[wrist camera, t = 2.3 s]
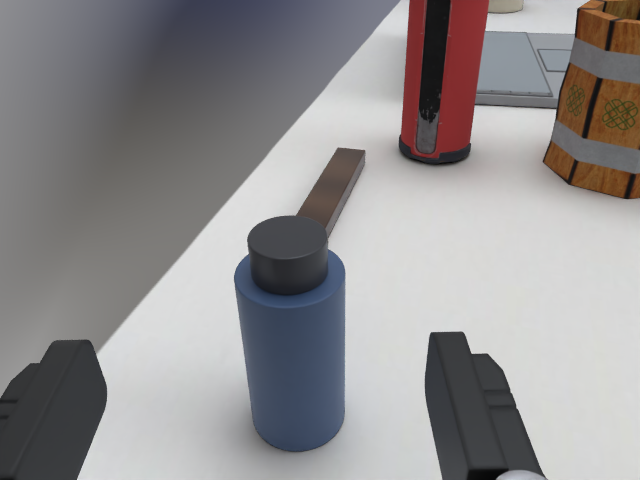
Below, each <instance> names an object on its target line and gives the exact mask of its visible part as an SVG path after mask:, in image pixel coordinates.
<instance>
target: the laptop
mask: <svg viewBox="0 0 640 480" xmlns="http://www.w3.org/2000/svg"><path fill="white" fill-rule="evenodd" d="M574 38H575V34H552V33H526V32H496V31H485V34H484V41H483V48H482V56H481V63H480V70H479V77H478V84H477V92H476V99H475V104H486V105H507V106H527V107H547V108H557V104H558V97H559V91H560V88H561V85H562V81H563V78H564V75H565V72H566V69H567V66H568V63H569V59H570V55H571V51H572V46H573V42H574Z"/></svg>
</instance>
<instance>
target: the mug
mask: <svg viewBox="0 0 640 480" xmlns="http://www.w3.org/2000/svg"><path fill="white" fill-rule="evenodd" d="M543 162H544V163H545V164H546V165H547V166H548V167H550V168H551V169H552V170H553V171H554V172H555V173H557V174H558V175H559V176H560V177H561V178H562V179H563V180H565V181H566V182H567V183H568V184H570V185H574V186H578V187H582V188H586V189H590V190H594V191H598V192H602V193H606V194H610V195H614V196H617V197H621V198H625V199H631V198H640V0H590V1H589V2H587V3H586V4H584V5H582V6H581V7H579V8H578V9H577V19H576V29H575V38H574V42H573V46H572V51H571V55H570V59H569V63H568V66H567V69H566V72H565V75H564V78H563V81H562V85H561V88H560V91H559V97H558V104H557V112H556V119H555V123H554V128H553V132H552V136H551V140H550V143H549V146H548V149H547V151H546V154H545V157H544V159H543Z"/></svg>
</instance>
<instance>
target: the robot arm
mask: <svg viewBox="0 0 640 480" xmlns="http://www.w3.org/2000/svg"><path fill="white" fill-rule="evenodd" d="M425 396H426V403H427V408H428V413H429V418H430V422H431V427H432V432H433V436H434V441H435V446H436V451H437V455H438V460H439V465H440V469H441V474H442V479H443V480H548V479H546V477H545V476H544V474H543V472H542V470H541V468H540V466H539V463H538V460H537V458H536V455H535V453H534V450H533V447H532V445H531V442H530V439H529V437H528V434H527V432H526V429H525V426H524V424H523V421H522V419H521V416H520V413H519V411H518V409H517V408H516V403H515V400H514V398H513V395H512V393H511V392H510V387H509V385H508V382H507V379H506V377H505V374H504V372H503V370H502V369H501V368H500V366H499V365H498V364H497V363H496V362H495V361H494V360H493V359H492V358H491V357H490V356H489V355H488V354H471V351H470V348H469V345H468V342H467V339H466V336H465V334H464V333H463V332H431V333H430V337H429V345H428V354H427V363H426V372H425ZM106 401H107V386H106V382H105V379H104V376H103V374H102V371H101V368H100V365H99V362H98V359H97V356H96V353H95V351H94V348H93V345H92V343H91V342H90V341H89V340H57V341H54V342H52V343H51V345H50V346H49V348H48V350H47V351H46V353H45V355H44V357H43V358H42V360H41V362H40V363H31V364H29V365H28V366H27V367H26V368H25V369H24V370H23V371H22V372H20V373H19V374H18V375H17V376H16V377H15V378H14V379H13V380H11V382H10V383H9V385H8V387H7V389H6V390H5V392H4V393H3V395H2V396H1V398H0V480H77V478H78V475H79V473H80V470H81V468H82V465H83V463H84V460H85V458H86V455H87V453H88V450H89V448H90V445H91V443H92V440H93V438H94V435H95V433H96V430H97V428H98V425H99V423H100V420H101V418H102V415H103V413H104V410H105V407H106Z"/></svg>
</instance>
